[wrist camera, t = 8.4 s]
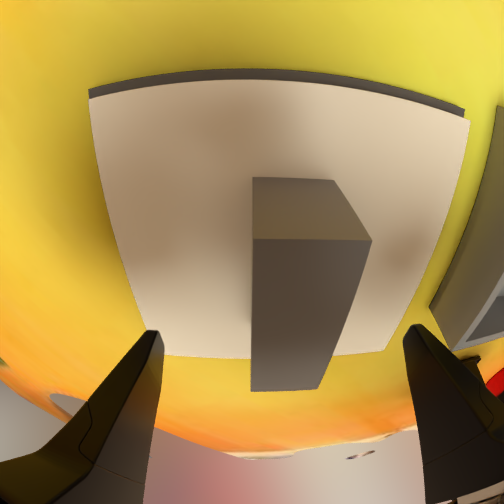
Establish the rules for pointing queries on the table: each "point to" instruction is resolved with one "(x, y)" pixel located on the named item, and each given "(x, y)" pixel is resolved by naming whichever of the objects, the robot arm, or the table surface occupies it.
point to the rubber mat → (274, 75)
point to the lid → (274, 215)
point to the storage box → (478, 263)
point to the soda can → (497, 385)
